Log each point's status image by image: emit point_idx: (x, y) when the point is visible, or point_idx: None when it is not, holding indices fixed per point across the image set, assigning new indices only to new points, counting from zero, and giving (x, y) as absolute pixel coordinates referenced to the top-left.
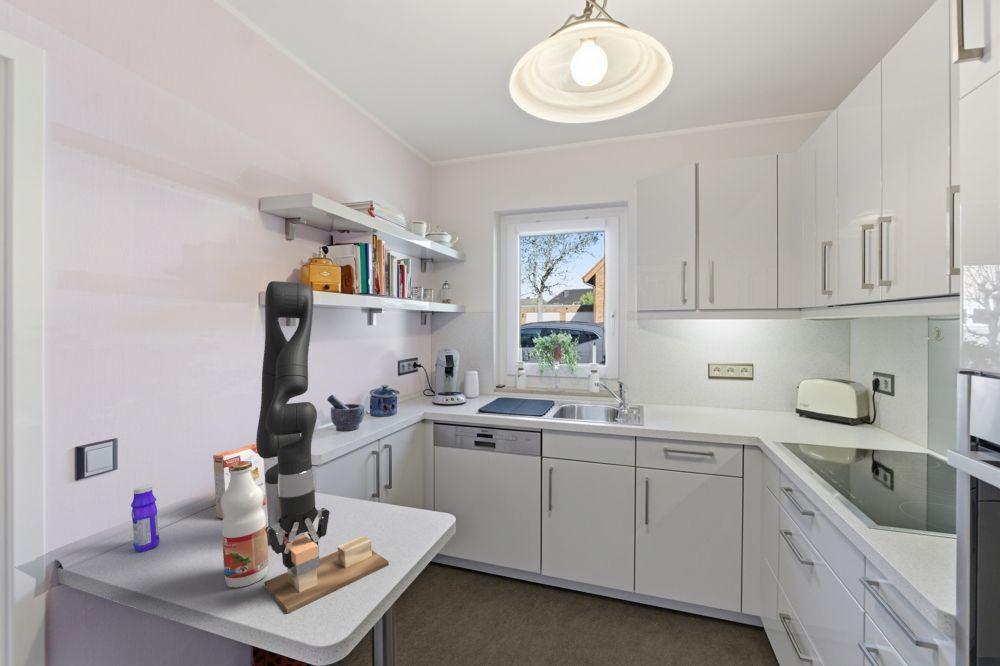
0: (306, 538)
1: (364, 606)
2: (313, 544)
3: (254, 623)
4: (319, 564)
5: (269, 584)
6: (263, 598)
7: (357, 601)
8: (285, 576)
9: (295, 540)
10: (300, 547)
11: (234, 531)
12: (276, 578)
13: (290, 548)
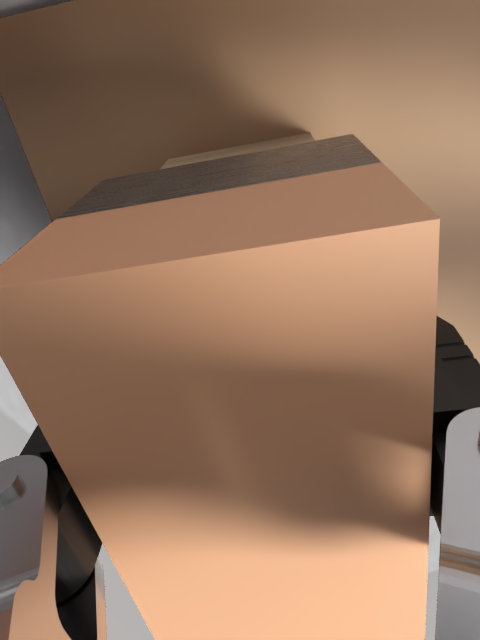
0: (396, 405)
1: (432, 555)
2: (395, 598)
3: (6, 407)
4: (462, 52)
5: (26, 114)
6: (15, 214)
7: (429, 521)
8: (151, 64)
9: (207, 352)
10: (235, 574)
11: None
12: (76, 39)
13: (104, 592)
